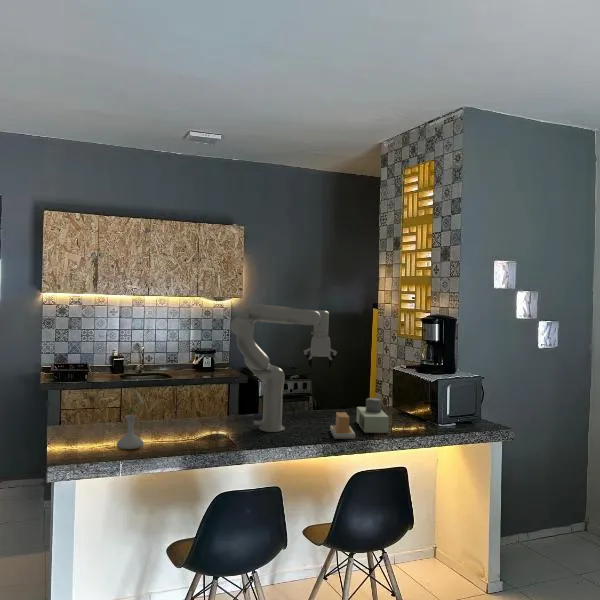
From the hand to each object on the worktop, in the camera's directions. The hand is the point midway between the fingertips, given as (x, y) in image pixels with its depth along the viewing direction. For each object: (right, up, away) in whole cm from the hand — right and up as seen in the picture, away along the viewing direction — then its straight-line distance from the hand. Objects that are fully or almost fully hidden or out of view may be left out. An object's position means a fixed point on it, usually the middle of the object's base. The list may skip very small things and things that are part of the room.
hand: (319, 367), depth 312 cm
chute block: (+10, -30, -17) cm, 36 cm away
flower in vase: (-83, -29, -52) cm, 102 cm away
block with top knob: (+27, -31, +1) cm, 41 cm away
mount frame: (+10, -31, -17) cm, 37 cm away
